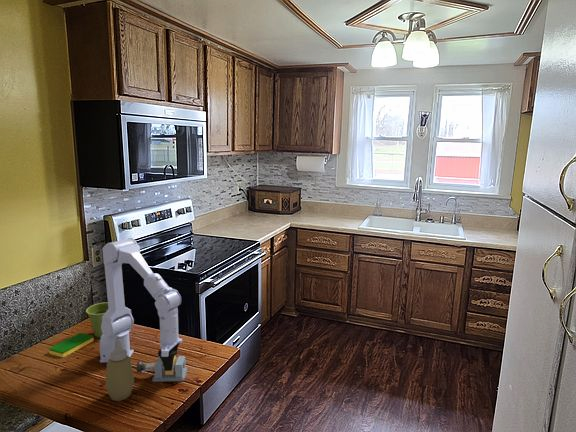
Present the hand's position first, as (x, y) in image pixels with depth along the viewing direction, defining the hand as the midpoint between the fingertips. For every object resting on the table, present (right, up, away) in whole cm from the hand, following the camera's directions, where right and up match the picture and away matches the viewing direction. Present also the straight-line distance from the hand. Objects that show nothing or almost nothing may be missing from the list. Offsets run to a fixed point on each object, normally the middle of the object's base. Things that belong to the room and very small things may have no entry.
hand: (170, 365), depth 131 cm
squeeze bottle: (-12, -6, -10) cm, 17 cm away
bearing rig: (0, -4, +1) cm, 4 cm away
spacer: (0, -2, 0) cm, 2 cm away
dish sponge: (-43, 0, +18) cm, 46 cm away
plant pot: (-35, +2, +28) cm, 45 cm away
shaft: (-4, -2, 0) cm, 5 cm away
